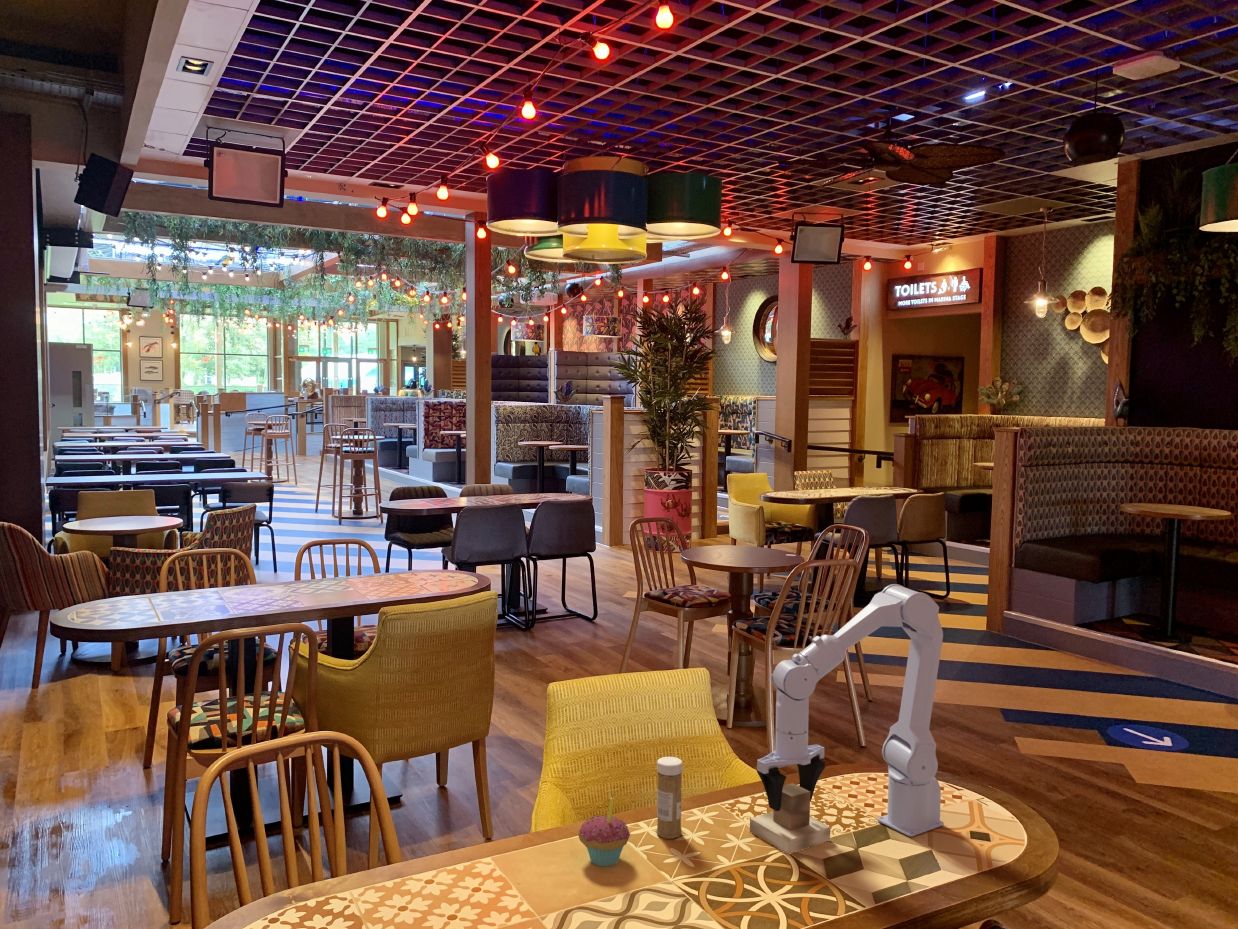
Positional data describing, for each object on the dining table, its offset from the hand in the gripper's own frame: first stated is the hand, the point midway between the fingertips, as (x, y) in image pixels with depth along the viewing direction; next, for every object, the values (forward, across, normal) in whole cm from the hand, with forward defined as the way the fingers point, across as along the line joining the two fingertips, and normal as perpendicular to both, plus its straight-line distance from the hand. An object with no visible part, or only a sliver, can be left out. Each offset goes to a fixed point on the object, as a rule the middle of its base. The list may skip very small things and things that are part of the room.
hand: (790, 804), depth 162 cm
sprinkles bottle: (+6, -18, +12) cm, 22 cm away
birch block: (+6, 0, 0) cm, 6 cm away
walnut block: (+3, 0, 0) cm, 3 cm away
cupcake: (+6, -33, +10) cm, 35 cm away
